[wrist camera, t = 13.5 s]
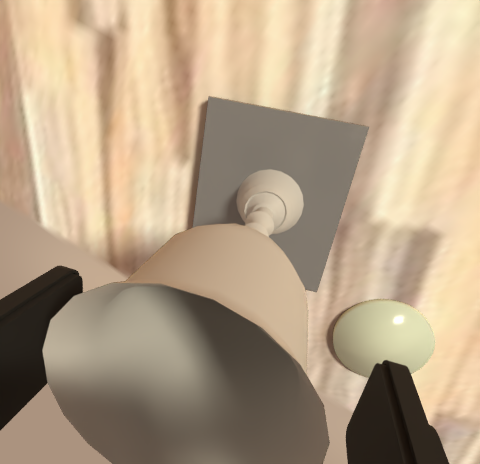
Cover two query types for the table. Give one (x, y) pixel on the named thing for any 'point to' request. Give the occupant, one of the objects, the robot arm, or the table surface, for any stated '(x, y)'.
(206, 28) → the table surface
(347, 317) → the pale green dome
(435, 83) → the table surface
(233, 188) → the slate board
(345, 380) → the table surface
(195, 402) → the chalice
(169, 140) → the table surface
